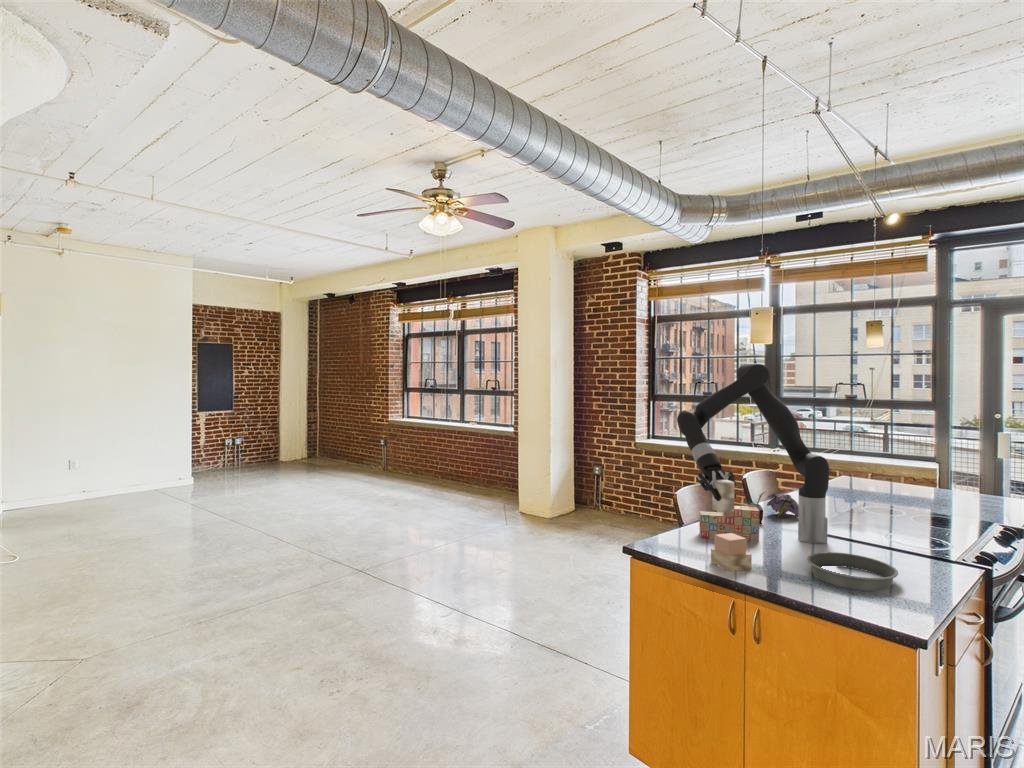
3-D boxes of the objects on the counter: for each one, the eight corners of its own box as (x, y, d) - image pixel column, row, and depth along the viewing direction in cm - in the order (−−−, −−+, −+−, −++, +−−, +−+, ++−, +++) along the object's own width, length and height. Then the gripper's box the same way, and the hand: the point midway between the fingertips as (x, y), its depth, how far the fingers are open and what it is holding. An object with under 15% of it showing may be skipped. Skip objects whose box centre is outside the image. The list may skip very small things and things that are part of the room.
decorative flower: (811, 497, 247) (779, 488, 246) (808, 523, 244) (776, 514, 243) (791, 499, 261) (761, 490, 260) (788, 524, 258) (758, 515, 257)
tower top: (731, 547, 192) (731, 532, 192) (746, 553, 186) (746, 538, 186) (714, 549, 190) (714, 534, 190) (728, 555, 183) (728, 540, 183)
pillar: (724, 508, 194) (725, 479, 194) (734, 511, 190) (734, 482, 189) (712, 509, 193) (712, 480, 193) (721, 512, 188) (721, 482, 188)
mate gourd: (744, 520, 245) (744, 486, 245) (764, 522, 243) (764, 487, 242) (746, 525, 238) (746, 490, 238) (766, 526, 236) (766, 491, 235)
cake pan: (900, 599, 160) (900, 584, 160) (803, 582, 173) (803, 568, 173) (896, 573, 181) (896, 560, 181) (809, 560, 194) (810, 547, 194)
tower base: (733, 560, 194) (733, 546, 194) (751, 569, 185) (751, 554, 185) (711, 563, 191) (711, 548, 191) (728, 572, 182) (728, 556, 182)
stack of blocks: (700, 538, 220) (700, 507, 219) (699, 533, 226) (699, 503, 225) (759, 542, 214) (759, 510, 214) (756, 537, 220) (756, 506, 220)
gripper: (692, 453, 196) (713, 494, 185) (727, 451, 200) (750, 492, 189) (683, 465, 202) (703, 506, 190) (718, 464, 205) (739, 504, 194)
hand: (726, 499), depth 189 cm, fingers closed on pillar, 5 cm apart
